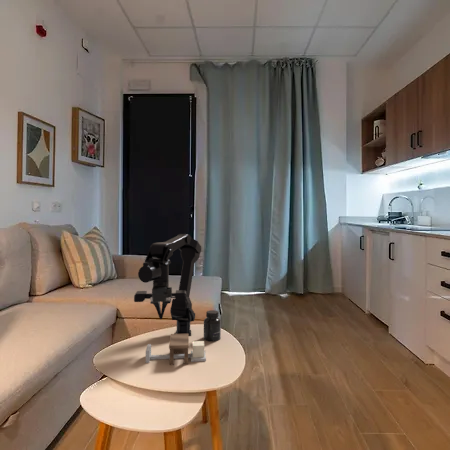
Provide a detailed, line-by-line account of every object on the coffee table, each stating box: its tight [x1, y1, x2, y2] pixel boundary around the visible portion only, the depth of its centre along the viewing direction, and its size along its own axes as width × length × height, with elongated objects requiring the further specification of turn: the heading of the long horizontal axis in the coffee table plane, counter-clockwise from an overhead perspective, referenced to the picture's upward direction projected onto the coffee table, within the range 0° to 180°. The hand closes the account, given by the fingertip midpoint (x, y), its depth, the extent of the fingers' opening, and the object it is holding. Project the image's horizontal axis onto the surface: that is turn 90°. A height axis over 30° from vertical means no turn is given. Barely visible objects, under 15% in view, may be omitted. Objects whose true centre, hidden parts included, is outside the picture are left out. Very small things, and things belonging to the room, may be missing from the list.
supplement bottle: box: [203, 309, 222, 343], centre depth 140 cm, size 7×7×12 cm
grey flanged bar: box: [145, 343, 207, 364], centre depth 122 cm, size 7×20×4 cm, turn 96°
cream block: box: [192, 340, 205, 357], centre depth 122 cm, size 4×4×4 cm
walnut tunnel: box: [168, 333, 190, 366], centre depth 122 cm, size 11×6×7 cm, turn 6°
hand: (161, 318), depth 130 cm, fingers closed
